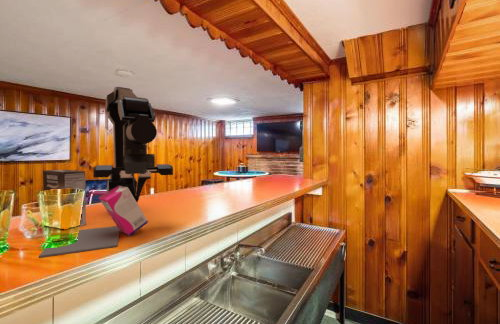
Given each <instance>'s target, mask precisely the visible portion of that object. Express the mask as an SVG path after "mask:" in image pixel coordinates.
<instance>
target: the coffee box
mask: <svg viewBox="0 0 500 324" xmlns="http://www.w3.org/2000/svg"><path fill="white" fill-rule="evenodd" d="M42 183H43V185H42V186H43V187H42V188H43V191H44V190H50V189H66V188H79V189H84V190H85V197H84V204H83V207H82V214H81V220H80V226H79V227H82V226H85V225H86V224H87V220H86V219H87V217H86V216H87V215H86V211H87V209H86V207H87V206H86V205H87V203H86V202H87V201H86V197H87V196H86V191H87V190H86V171H85V170H76V169H50V170H49V169H48V170H42Z"/></svg>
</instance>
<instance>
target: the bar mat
mask: <svg viewBox="0 0 500 324" xmlns="http://www.w3.org/2000/svg"><path fill="white" fill-rule="evenodd" d="M78 230H79V233H78V237H77V239H78V240H77V241H76V242H75V243H73V244H70V245H67V246H62V247H57V248H46V247H45V248H44V249H43V251H41V253H39V255H38V258H39V259H40V258H46V257H55V256H56V257H57V256H60V255H68V254H76V253H77V254H78V253H82V252H89V251H96V250H97V251H98V250H104V249H110V248H112V249H113V248H117V247H118V245H119V239H120V238H119V237H120V232H121V231H120V230H119V228H118V227H117V225H114V226H105V227H94V228H87V229H78Z"/></svg>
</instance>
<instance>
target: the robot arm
mask: <svg viewBox="0 0 500 324" xmlns="http://www.w3.org/2000/svg"><path fill="white" fill-rule="evenodd" d="M104 107H105V112H107V118H108V119H109V121H110V123H111V124H112V126H113V127H112V129H113V158H114V159H113V161H114V164H98V165H95V166H94V168H93V173H92V175H93V178H109V179H107V184H106V193H107V192H109V191H110V190H112V189H114V188H115V187H117V186H123V187H128V188H129V190H130V192H131V193H132V195H133V197H134V199H135V200H136V202H137V203H139V200H140V197H141V193H142V190H143V187H144V185H145V183H147V180H151V179H152V176H151V175H152V174H159V175H160V176H174V167H173V165H172V164H170V163H162V164H161V163H159V164H158V163H157V164H156V161H155V160H156V159H155V157H156V156H155V154H154V153H148V144H149V143H151V142H153V141H154V140H156V137H157V135H158V134H157V133H158V130H157V127H156V125H155V124H154V123H155V120H156V114H155V111H154V109H153V107H152V104H151V103H150V102H149V99H148V98H146V97H138V96H137V95H136V93H134V92H133V89H131V88H130V87H129V88H128V87H124V86H123V87H122V86H114V89H113V91H112V92H110V93H109V94H107V95H106V98H105V106H104ZM155 165H156V166H155ZM135 174H138V178H137V179H136V177H135Z"/></svg>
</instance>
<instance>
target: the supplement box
mask: <svg viewBox="0 0 500 324" xmlns="http://www.w3.org/2000/svg"><path fill="white" fill-rule="evenodd" d="M98 199H99V200H100V202H101V203H102V205H103V207H104V208H105V210H106V211H107V213H108V215H109V217H111V219H112V220H113V222H114V223H115V226H117V227H118V228H119V230H120V232H121V233H123V234H125V235H127V236H129V237H131V236H132V235H133V234H135V233H136V232H137V231H138V230H140V229H142V228H143V227H144V226H145V225H147V224H148V223H149V220H148V219H147V217H146V216H145V214H144V212H143V211H142V208H141V207H140V206H139V204H138V202H136V200H135V199H134V197H133V195H132V193H131V192H130V190H129V188H128V187H123V186H117V187H115V188H114V189H112V190H110V191H109V192H107V191H106V193H103V194H102V195H101V196H98Z"/></svg>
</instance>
